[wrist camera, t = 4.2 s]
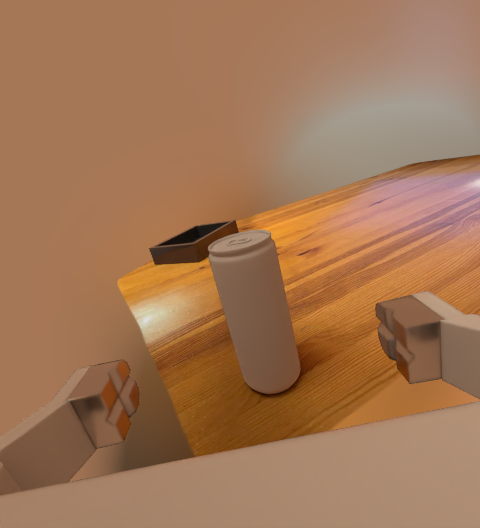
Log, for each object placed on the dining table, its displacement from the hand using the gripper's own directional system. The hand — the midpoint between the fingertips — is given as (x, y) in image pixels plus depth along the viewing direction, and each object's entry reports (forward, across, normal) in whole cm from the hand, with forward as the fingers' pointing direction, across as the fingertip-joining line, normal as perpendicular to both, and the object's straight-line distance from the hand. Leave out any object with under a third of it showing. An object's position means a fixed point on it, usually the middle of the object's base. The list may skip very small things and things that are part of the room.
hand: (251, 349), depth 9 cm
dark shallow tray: (+61, +12, +11) cm, 63 cm away
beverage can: (+12, 0, +12) cm, 17 cm away
